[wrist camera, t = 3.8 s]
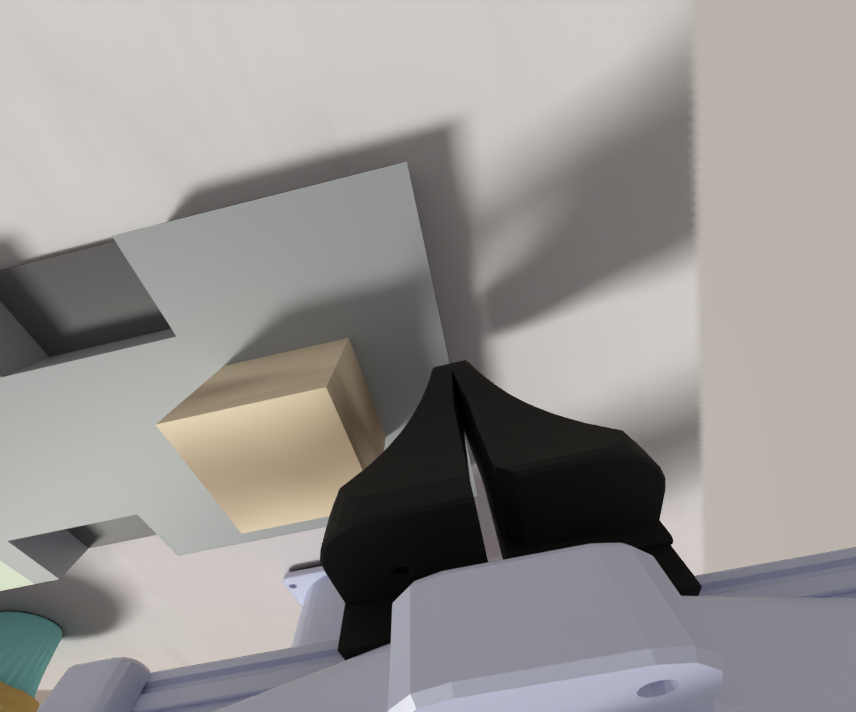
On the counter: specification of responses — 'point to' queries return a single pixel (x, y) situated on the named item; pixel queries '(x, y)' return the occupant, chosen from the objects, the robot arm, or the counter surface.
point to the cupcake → (24, 658)
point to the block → (279, 434)
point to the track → (193, 356)
